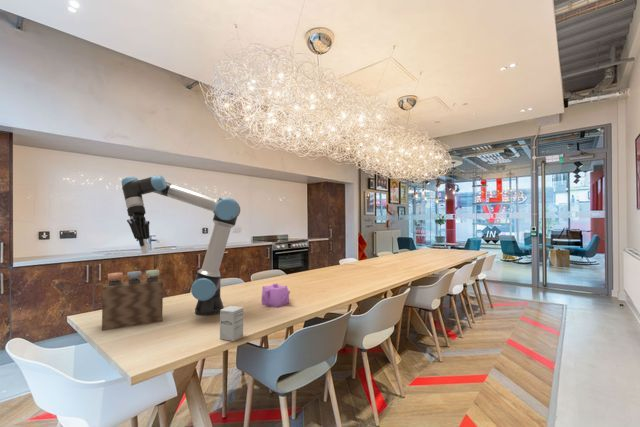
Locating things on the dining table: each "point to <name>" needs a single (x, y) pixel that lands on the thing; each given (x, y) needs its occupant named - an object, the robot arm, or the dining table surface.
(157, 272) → the sage button
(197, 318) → the dining table surface
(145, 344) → the dining table surface
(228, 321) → the supplement box
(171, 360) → the dining table surface
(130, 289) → the button console
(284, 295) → the teakettle
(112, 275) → the terracotta button
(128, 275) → the slate button
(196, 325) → the dining table surface
